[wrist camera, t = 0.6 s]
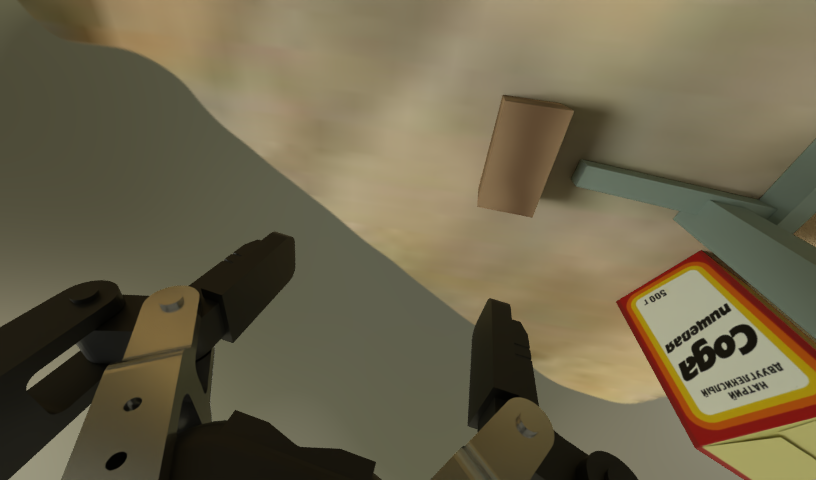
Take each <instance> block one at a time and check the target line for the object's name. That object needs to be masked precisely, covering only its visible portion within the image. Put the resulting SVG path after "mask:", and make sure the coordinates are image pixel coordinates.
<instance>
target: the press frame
mask: <svg viewBox="0 0 816 480" xmlns="http://www.w3.org/2000/svg"><path fill="white" fill-rule="evenodd" d="M571 180H572V181H573V183H574V184H575V186H577V187H581V188H585V189H589V190H594V191H598V192H602V193H606V194H610V195H615V196H619V197H623V198H627V199H631V200H636V201H640V202H644V203H648V204H653V205H657V206H661V207H665V208H669V209H674V210H678V211H679V212H678V214H677V215H676V216H675V218H674V219H673V220H675V221H676V222H677V223H678V224H679V225H681V226H682V227H683V228H684V229H685V230H686V231H688V232H689V233H690V234H691V235H692V236H694V237H695V238H696V239H697V240H698V241H700V242H701V243H702V244H703V245H704V246H706V247H707V248H708V249H709V250H710V251H711V252H713V253H714V254H715V255H716V256H717V257H719V258H720V259H721V260H722V261H723V262H725V263H726V264H727V265H728V266H729V267H731V268H732V269H733V270H734V271H735V272H736V273H738V274H739V275H740V276H741V277H742V278H744V279H745V280H746V281H747V282H748V283H750V284H751V285H752V286H753V287H754V288H756V289H757V290H758V291H759V292H760V293H761V294H763V295H764V296H765V297H766V298H767V299H769V300H770V301H771V302H772V303H773V304H775V305H776V306H777V307H778V308H779V309H780V310H782V311H783V312H784V313H785V314H786V315H788V316H789V317H790V318H791V319H792V320H794V321H795V322H796V323H797V324H798V325H800V326H801V327H802V328H803V329H804V330H805V331H807V332H808V333H809V334H810V335H811V336H813V337H814V338H815V339H816V247H814V246H813V245H811V244H809V243H807V242H806V241H804V240H802V239H800V238H798V237H797V236H795V235H793V233H794V232H796V231H797V230H798V229H799V228H800V227H801V226H802V225H803V224H804V223H805V222H806V221H807V220H809V219H810V218H811V217H812V216H813V215H814V214H815V213H816V139H815V140H814V141H813V142H812V143H811V144H810V146H809V147H808V148H807V149H806V150H805V151H804V152H803V153H802V154H801V155H800V156H799V157H798V158H797V159H796V161H795V162H794V163H793V164H792V165H791V166H790V167H789V168H788V169H787V170H786V171H785V172H784V173H783V174H782V176H781V177H780V178H779V179H778V180H777V181H776V182H775V183H774V184H773V185H772V186H771V187H770V188H769V189H768V191H767V192H766V193H765V194H764V195H763V196H762V197H761V198H760V199H759V200H758V199H753V198H749V197H744V196H740V195H736V194H731V193H727V192H722V191H718V190H714V189H709V188H705V187H701V186H696V185H692V184H687V183H683V182H679V181H674V180H670V179H665V178H661V177H657V176H652V175H648V174H644V173H639V172H635V171H630V170H626V169H622V168H617V167H613V166H608V165H604V164H600V163H595V162H591V161H586V160H582V159H581V160H580V162H579V164H578V166H577V168H576V170H575V172H574V174H573V176H572V178H571Z"/></svg>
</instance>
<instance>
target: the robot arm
mask: <svg viewBox="0 0 816 480" xmlns="http://www.w3.org/2000/svg"><path fill="white" fill-rule="evenodd" d="M294 271H295V241H294V238H293V237H291V236H288V235H284V234H281V233H278V232H272V233H271V234H269V235H268V236H267V237H265V238H264V239H263V240H255V241H253V242H250V243H248V244H245V245H243V246H242V247H240V248H239V249H238V250H237V251H235V252H234V253H233V255H232V254H231V255H230V256H228V257H227V258H226V259H225V260H224V261H222V262H220V263H219V264H217V265H216V266H215V267H213V268H212V269H211V270H209V271H208V272H207V273H205V274H204V275H203V276H201V277H200V278H199V279H197V280H196V281H195V282H194V283H192V284H191V285H189V286H173V287H168V288H165V289H162V290H160V291H157V292H155V293H154V294H152V295H151V296H139V295H122V293H121V291H120V289H119V288H118V286H117V285H116V284H115V283H113V282H110V281H103V280H100V281H90V282H85V283H81V284H78V285H75V286H73V287H71V288H68V289H66V290H65V291H62V292H61V293H59V294H57V295H56V296H54V297H52V298H50V299H49V300H47V301H45V302H43V303H42V304H40V305H38V306H36V307H35V308H33V309H31V310H29V311H28V312H26V313H24V314H22V315H21V316H19V317H17V318H15V319H14V320H12V321H11V322H9V323H7V324H5V325H3V326H2V327H0V480H8V479H9V478H11V477H12V476H13V475H14V474H15V473H16V472H17V471H18V470H19V469H20V468H21V467H22V466H24V465H25V464H26V463H27V462H28V461H29V460H30V459H31V458H32V457H33V456H34V455H36V454H37V452H39V451H40V450H41V449H42V448H43V447H44V446H45V445H46V444H48V442H50V441H51V440H52V439H53V438H54V437H55V436H56V435H57V434H58V433H59V432H61V431H62V430H63V429H64V428H65V427H66V426H67V425H68V424H69V423H70V422H72V421H73V420H74V419H75V418H76V417H77V416H78V415H79V414H80V413H81V412H82V411H84V410H85V408H87V407H88V406H89V405H90V404H91V405H90V408H89V411H88V413H87V416H86V418H85V421H84V423H83V426H82V428H81V431H80V433H79V436H78V438H77V441H76V443H75V446H74V449H73V451H72V453H71V456H70V458H69V461H68V463H67V466H66V468H65V471H64V474H63V476H62V479H61V480H381V479H380V478H379V477H378V476H377V475H376V474H374V473H373V472H374V468H375V464H376V462H374V461H372V460H369V459H366V458H363V457H361V456H358V455H355V454H353V453H350V452H347V451H345V450H342V449H332V448H331V449H330V448H310V447H308V448H307V447H299V446H297V445H296V444H294V443H293V442H291V440H289V439H288V438H287V437H286V436H284V435H283V434H282V433H281V432H280V431H278V430H277V429H276V428H275V427H274V426H272V425H271V424H270V423H269V422H266V421H264V420H261V419H258V418H255V417H253V416H250V415H247V414H245V413H242V412H239V411H236V410H235V411H234V412H233V414H232V415H231V417H230V418H229V419H228V421H226V420H224V421H214V422H212V415H211V406H210V397H211V386H212V376H213V365H214V354H215V347H214V346H215V344H216V343H217V342H218V341H219V340H220V339H223V340H226V341H229V342H231V343H234V341H235V340H236V339H237V338H238V337H239V336H240V335H241V334H242V332H244V330H245V329H246V328H247V327H248V326H249V325H250V324H251V323H252V322H253V320H254V319H255V318H256V317H257V316H258V315H259V314H260V313H261V312H262V311H263V310H264V308H265V307H266V306H267V305H268V304H269V303H270V302H271V301H272V299H274V297H275V296H276V295H277V294H278V293H279V292H280V290H282V289H283V287H284V286H285V285H286V284H287V283H288V282H289V281H290V279H291V278H292V276H293V274H294ZM74 344H76V345H77V346H78V347H79V349H80V351H79V352H78V353H76V354H75V355H74V356H72V357H71V358H70V359H68V360H67V361H66V362H64V363H63V364H62V365H61V366H59V367H58V368H56V369H55V370H54V371H52V372H51V373H50V374H49V375H47V376H46V377H45V378H43V379H42V380H41V381H39V382H38V383H37V384H35V385H34V386H33V387H31V388H30V389H29V390H27V391H26V386H27V383H28V381H29V380H30V379H31V377H32V376H33V375H34V374H35V373H36V372H38V371H39V370H40V369H42V368H43V367H44V366H46V365H47V364H49V363H50V362H51V361H53V360H54V359H55V358H57V357H58V356H59V355H61V354H62V353H64V352H65V351H66V350H68V349H69V348H70V347H72V346H73V345H74ZM529 348H530V346H529V340H528V334H527V333H526V331H525V329H524V327H523V326H522V324H521V322H519V321H516V320H512V317H511V307H510V304H507V303H504V302H501V301H498V300H494V299H491V298H489V299H488V301H487V303H486V305H485V307H484V309H483V311H482V313H481V315H480V317H479V319H478V321H477V323H476V325H475V328H474V332H473V336H472V349H471V370H470V389H469V390H470V391H469V409H468V426H469V427H472V428H475V429H478V433H477V434H476V435H475V436H474V437H473V438H472V439H471V440H470V441H469V442H468V443H467V444H466V445H465V446H463V447H461V448H460V449H459V450H458V451H457V452H456V453H455V454H454V455H453V456H452V457H451V458H450V459H449V460H448V461H447V463H446V464H445V465H444V466H443V467H442V468H441V469H440V470H439V471H438V472H437V473H436V474H435V475H434V476H433V477H432V478H431V479H430V480H638V479H637V477H636V476H635V475H634V473H633V472H632V471H631V470H630V469H629V467H627V466H626V465H625V464H624V463H623V462H622V461H620V459H618V458H617V457H615V456H613V455H611V454H610V453H607V452H604V451H595V452H593V453H591V454H590V455H587V454H586V453H584V452H583V451H581V450H580V449H579V448H577V447H576V446H574V445H573V444H571V443H569V442H568V441H567V440H565V439H564V438H563V437H561V436H560V435H559V434H558V433H556V432H555V431H554V430H553V427H552V424H551V422H550V420H549V418H548V417H547V415H546V414H545V413H544V411H543V410H542V409H541V408H540V407H539V403H538V398H537V391H536V385H535V378H534V372H533V365H532V361H531V353H530V350H529Z"/></svg>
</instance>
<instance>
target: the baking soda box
mask: <svg viewBox="0 0 816 480" xmlns="http://www.w3.org/2000/svg"><path fill="white" fill-rule="evenodd" d="M616 303H617V305H618V306H619V308H620V310H621V312H622V314H623V316H624V318H625V319H626V321H627V323H628V325H629V327H630V329H631V331H632V332H633V334H634V336H635V338H636V340H637V342H638V343H639V345H640V347H641V349H642V351H643V353H644V355H645V356H646V358H647V360H648V362H649V364H650V366H651V367H652V369H653V371H654V373H655V375H656V377H657V379H658V380H659V382H660V384H661V386H662V388H663V390H664V391H665V393H666V395H667V397H668V399H669V400H670V403H671V404H672V406H673V408H674V410H675V412H676V414H677V416H678V417H679V419H680V421H681V423H682V425H683V427H684V428H685V430H686V432H687V434H688V436H689V438H690V440H691V441H692V443H693V445H694V447H695V448H696V449H697V450H699V451H700V452H702V453H704V454H705V455H707V456H708V457H710V458H711V459H713V460H714V461H716V462H718V463H719V464H721V465H722V466H724V467H725V468H727V469H728V470H730V471H732V472H733V473H735V474H736V475H738V476H739V477H741V478H742V479H744V480H813V479H816V343H815V342H814V341H812V340H811V339H810V338H809V337H808V336H807V335H805V334H804V333H803V332H802V331H801V330H800V329H798V328H797V327H796V326H795V325H794V324H793V323H791V322H790V321H789V320H788V319H787V318H785V317H784V316H783V315H782V314H781V313H780V312H778V311H777V310H776V309H775V308H774V307H773V306H771V305H770V304H769V303H768V302H767V301H766V300H764V299H763V298H762V297H761V296H760V295H759V294H757V293H756V292H755V291H754V290H753V289H751V288H750V287H749V286H748V285H747V284H745V283H744V282H743V281H741V280H740V279H739V278H738V277H736V276H735V275H734V274H732V273H731V272H730V271H728V270H727V269H726V268H724V267H723V266H722V265H720V264H719V263H718V262H716V261H715V260H714V259H712V258H711V257H710V256H708V255H707V254H706V253H704V252H703V251H702V250H701V251H699V252H697V253H696V254H694V255H692V256H691V257H689V258H687V259H686V260H684V261H682V262H681V263H679V264H677V265H676V266H674V267H672V268H671V269H669V270H667V271H666V272H664V273H663V274H661V275H659V276H658V277H656V278H654V279H653V280H651V281H649V282H648V283H646V284H644V285H643V286H641V287H639V288H638V289H636V290H634V291H633V292H631V293H629V294H628V295H626V296H624V297H623V298H621V299H620V300H618V301H616Z"/></svg>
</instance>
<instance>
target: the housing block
mask: <svg viewBox="0 0 816 480" xmlns="http://www.w3.org/2000/svg"><path fill="white" fill-rule="evenodd" d="M573 113H574V111H573V110H571V109H570V108H568V107H566V106H564V105H563V104H561V103H555V102H548V101H541V100H534V99H527V98H520V97H513V96H507V95H503V96H502V100H501V104H500V108H499V112H498V115H497V119H496V123H495V127H494V131H493V135H492V138H491V142H490V146H489V150H488V154H487V158H486V161H485V165H484V169H483V173H482V177H481V181H480V185H479V190H478V205H477V207H482V208H487V209H492V210H497V211H502V212H507V213H512V214H517V215H522V216H527V217H533V215H534V212H535V209H536V207H537V204H538V202H539V199H540V197H541V194H542V192H543V189H544V187H545V184H546V182H547V179H548V176H549V174H550V171H551V169H552V166H553V164H554V161H555V159H556V156H557V154H558V151H559V149H560V146H561V143H562V141H563V138H564V136H565V133H566V131H567V128H568V126H569V123H570V121H571V118H572V115H573Z"/></svg>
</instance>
